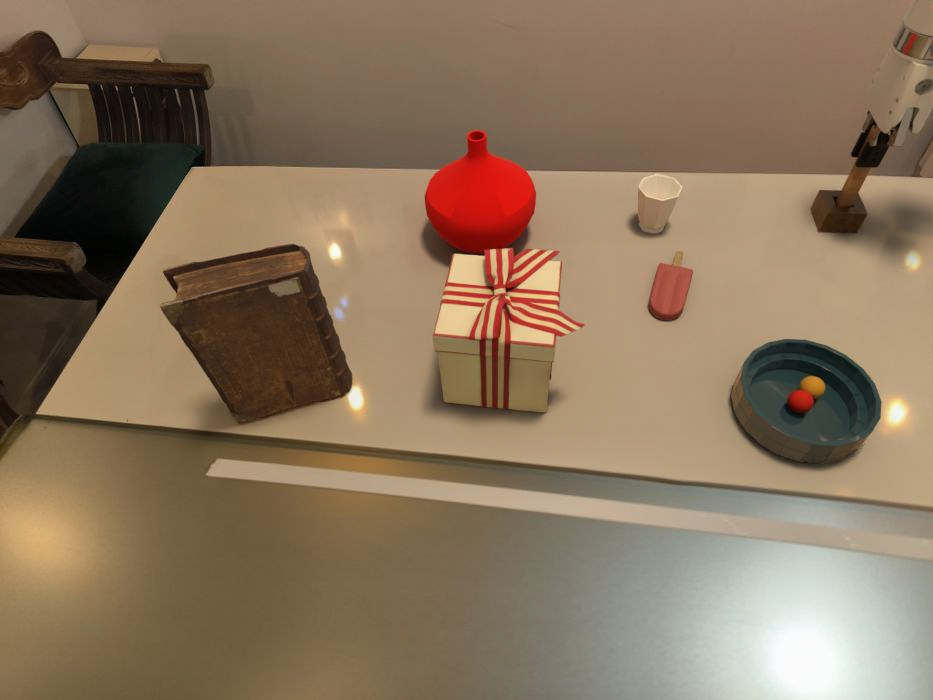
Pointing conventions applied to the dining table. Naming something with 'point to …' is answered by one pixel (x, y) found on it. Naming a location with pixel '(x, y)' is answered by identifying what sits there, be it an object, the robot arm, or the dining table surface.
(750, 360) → the bowl
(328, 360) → the book
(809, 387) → the ochre ball
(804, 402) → the red ball
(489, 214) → the vase
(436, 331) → the gift box
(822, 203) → the holder
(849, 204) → the stick
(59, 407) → the dining table surface
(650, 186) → the cup
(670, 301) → the popsicle
